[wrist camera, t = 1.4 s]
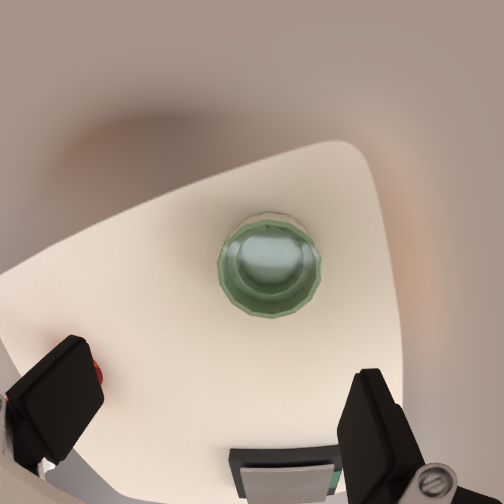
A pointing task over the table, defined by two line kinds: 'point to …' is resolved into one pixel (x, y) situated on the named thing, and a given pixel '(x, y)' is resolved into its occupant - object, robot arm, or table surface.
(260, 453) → the scale base
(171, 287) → the table surface
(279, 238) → the bowl
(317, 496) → the platform
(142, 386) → the table surface
